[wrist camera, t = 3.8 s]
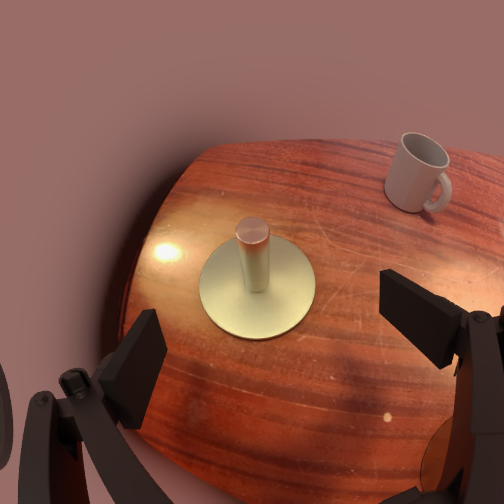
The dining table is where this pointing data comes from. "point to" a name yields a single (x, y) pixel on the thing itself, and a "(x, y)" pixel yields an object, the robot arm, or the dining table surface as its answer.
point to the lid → (257, 283)
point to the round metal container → (435, 457)
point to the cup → (418, 175)
